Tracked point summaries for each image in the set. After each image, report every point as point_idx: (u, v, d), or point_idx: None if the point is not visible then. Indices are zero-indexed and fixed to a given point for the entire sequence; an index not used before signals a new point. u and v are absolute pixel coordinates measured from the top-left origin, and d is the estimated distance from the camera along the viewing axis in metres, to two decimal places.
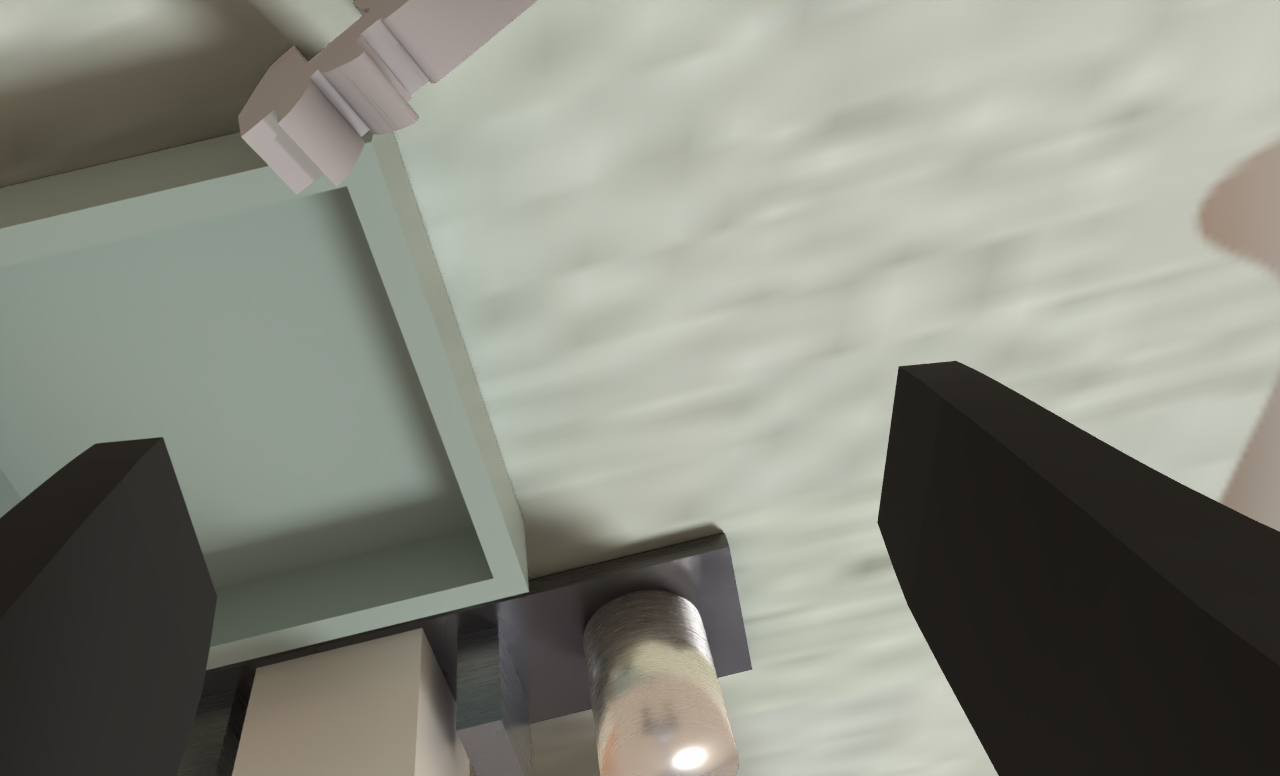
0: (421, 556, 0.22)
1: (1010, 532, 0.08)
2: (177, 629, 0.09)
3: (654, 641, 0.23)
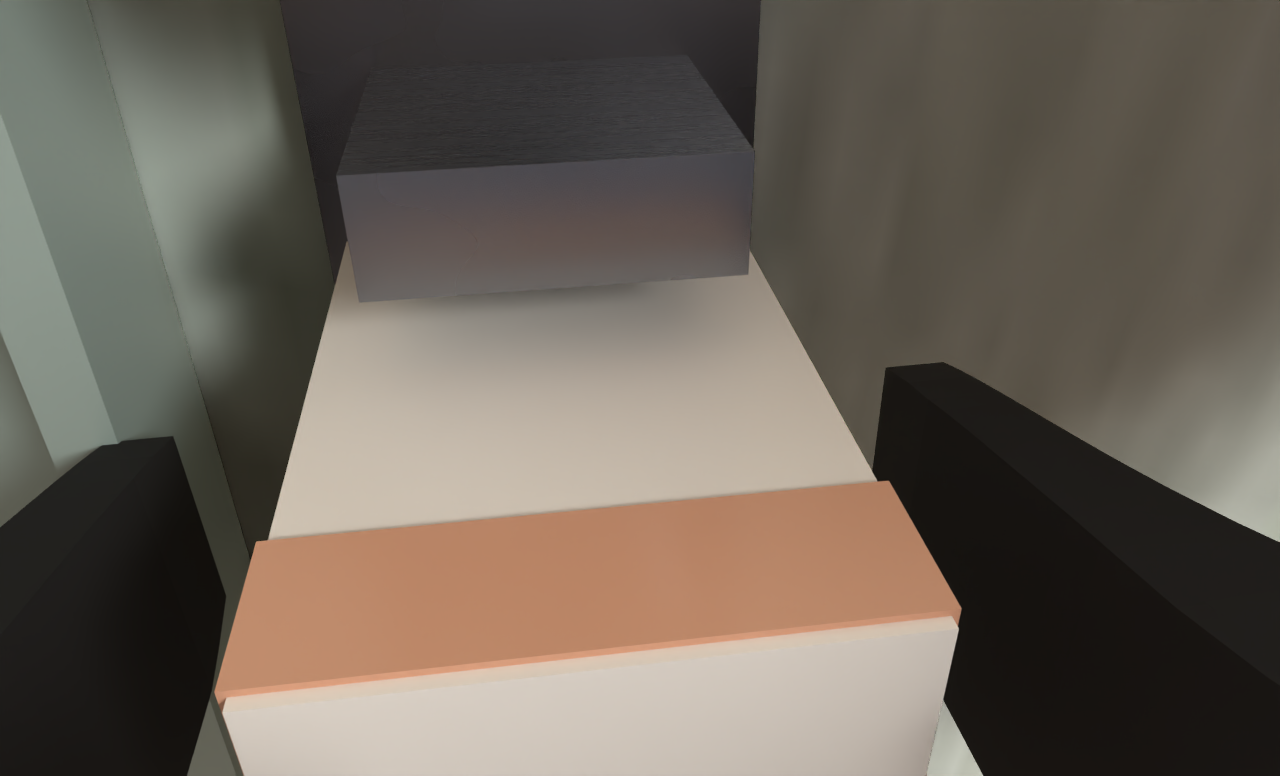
0: None
1: (994, 534, 0.08)
2: (187, 628, 0.09)
3: None
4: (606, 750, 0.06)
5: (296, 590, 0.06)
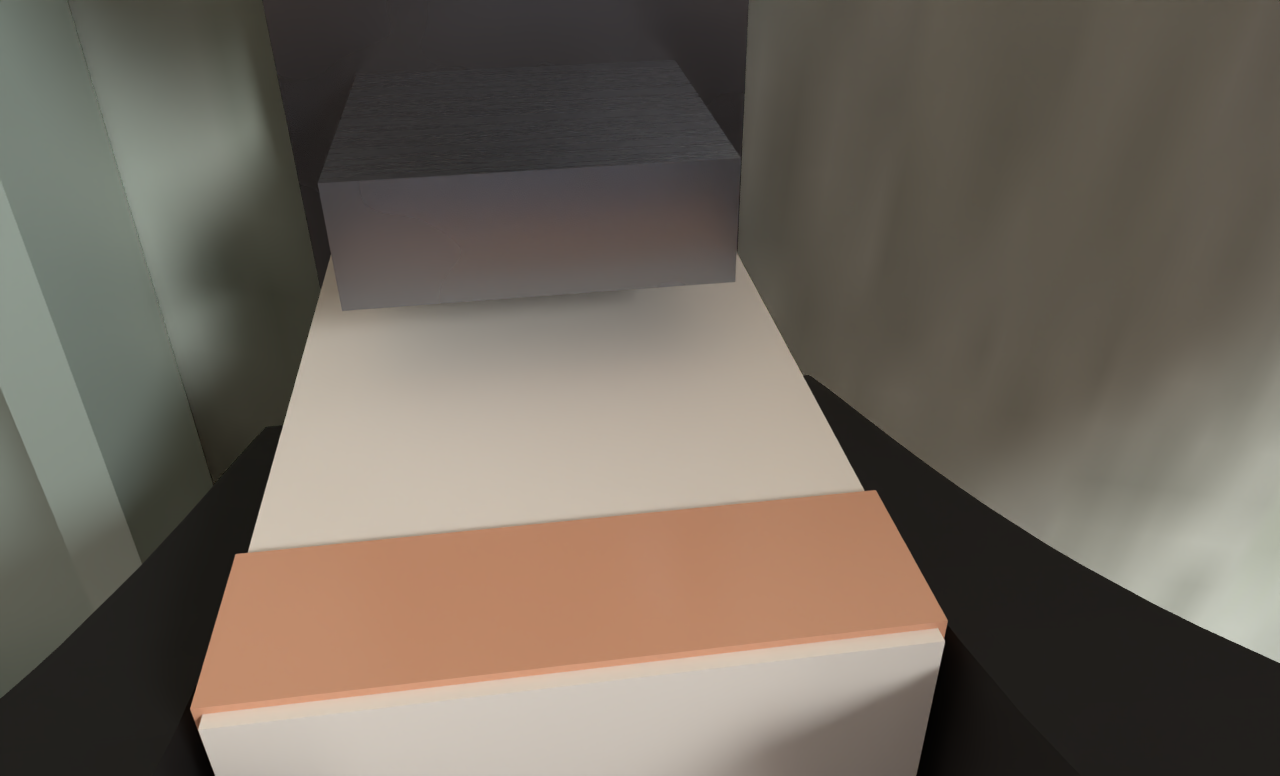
0: None
1: None
2: None
3: None
4: (590, 765, 0.06)
5: (275, 604, 0.06)
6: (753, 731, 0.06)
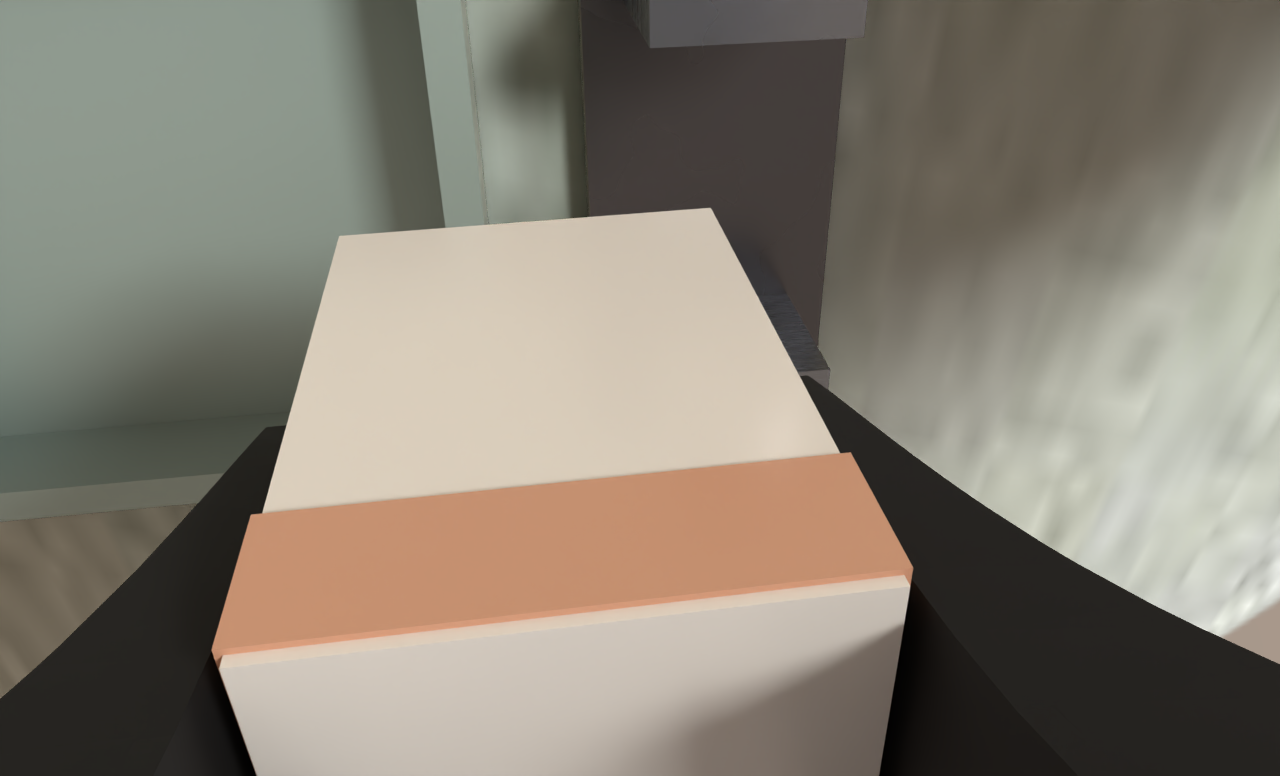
0: None
1: None
2: None
3: None
4: (582, 707, 0.06)
5: (288, 558, 0.06)
6: (733, 673, 0.06)
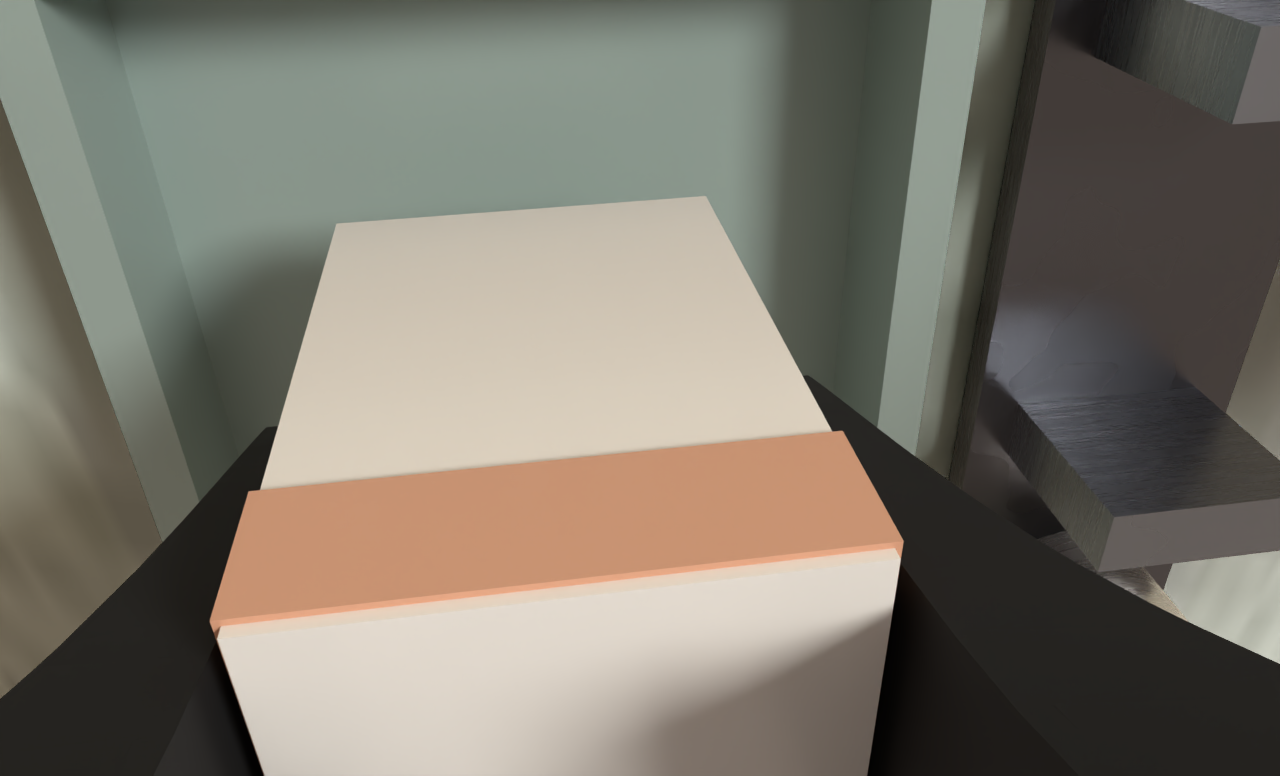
0: (881, 74, 0.12)
1: None
2: None
3: None
4: (577, 680, 0.06)
5: (285, 533, 0.06)
6: (726, 646, 0.06)
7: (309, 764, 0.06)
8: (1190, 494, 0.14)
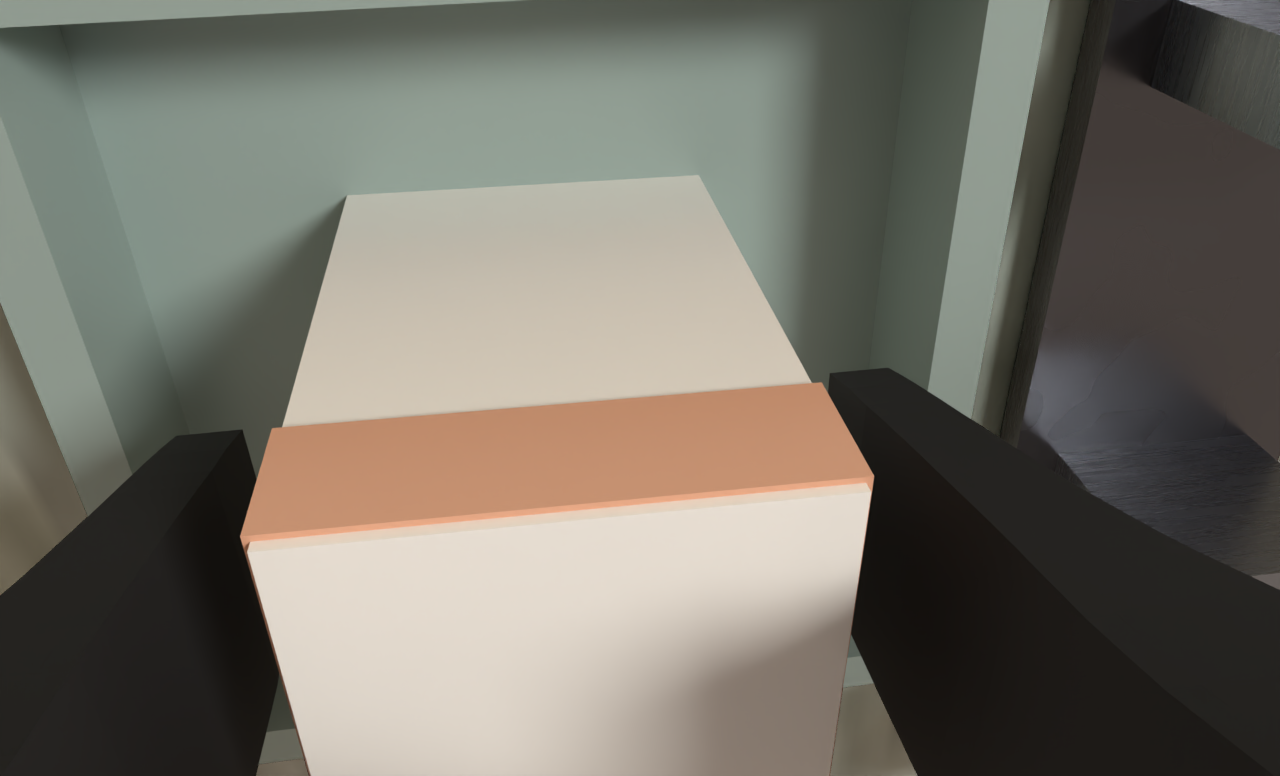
0: (919, 108, 0.11)
1: (926, 542, 0.08)
2: (257, 620, 0.09)
3: None
4: (573, 603, 0.07)
5: (307, 463, 0.07)
6: (711, 571, 0.07)
7: (326, 677, 0.07)
8: (1251, 559, 0.13)
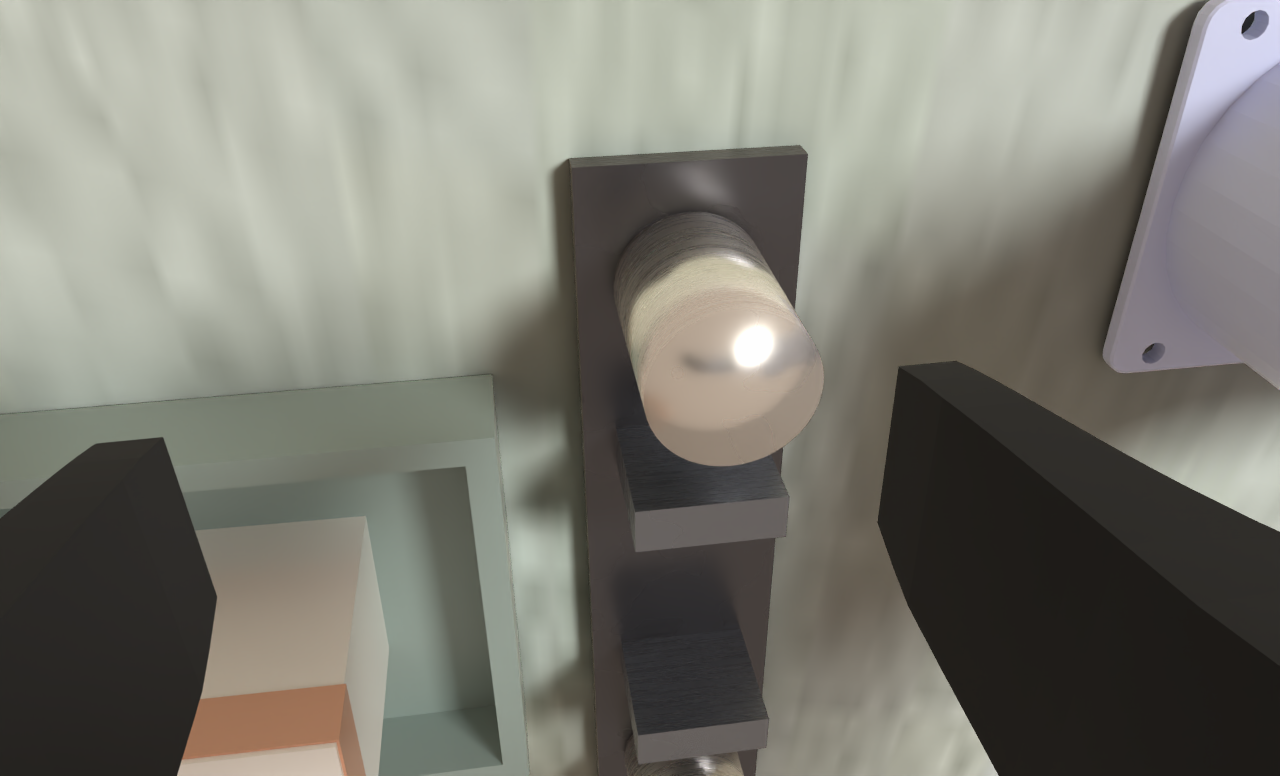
0: None
1: (1010, 532, 0.08)
2: (177, 629, 0.09)
3: (625, 315, 0.18)
4: None
5: None
6: None
7: None
8: (692, 718, 0.23)
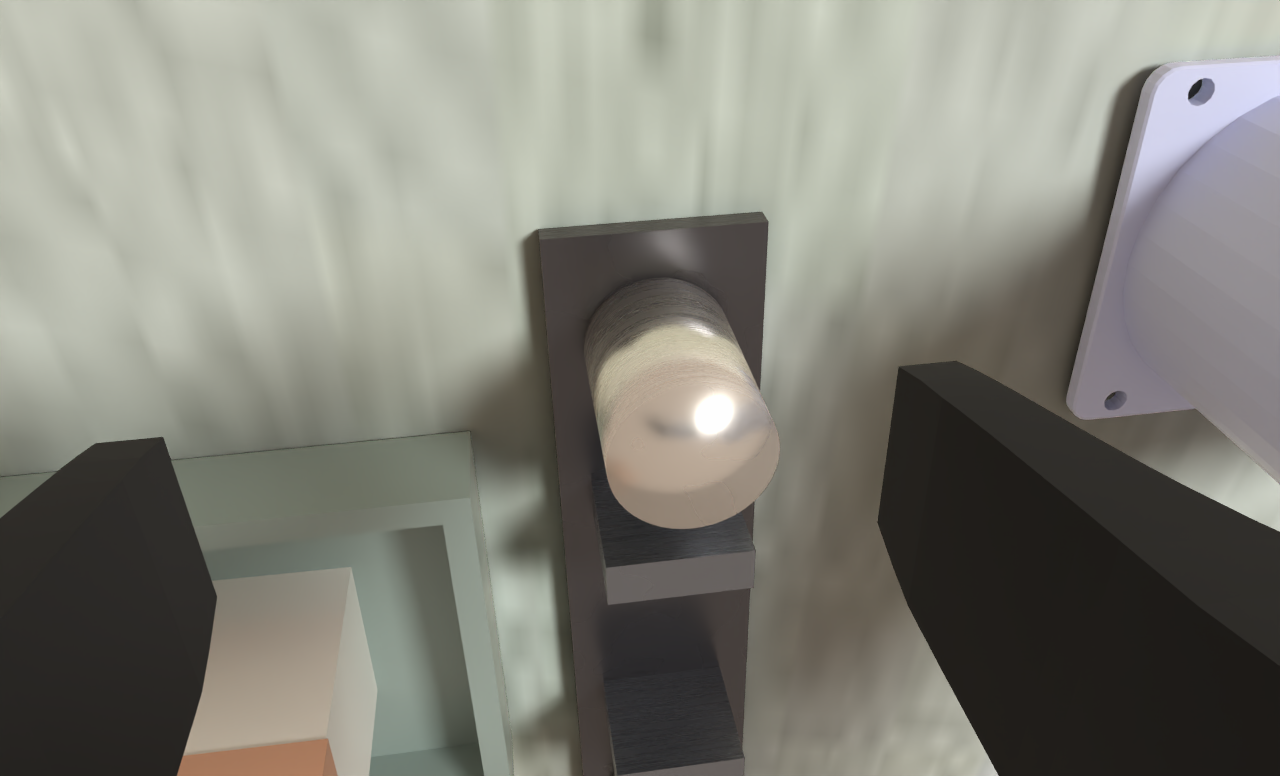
0: None
1: (1010, 532, 0.08)
2: (177, 629, 0.09)
3: (592, 381, 0.19)
4: None
5: None
6: None
7: None
8: (670, 758, 0.23)
